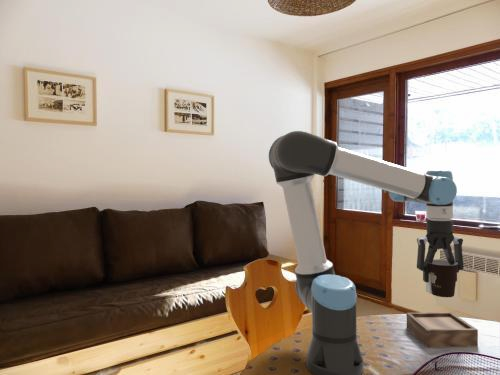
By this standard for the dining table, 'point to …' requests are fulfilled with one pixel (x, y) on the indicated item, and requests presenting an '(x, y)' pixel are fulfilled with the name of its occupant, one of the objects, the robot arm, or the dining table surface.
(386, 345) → the dining table surface
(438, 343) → the wooden tray
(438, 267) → the coffee mug
